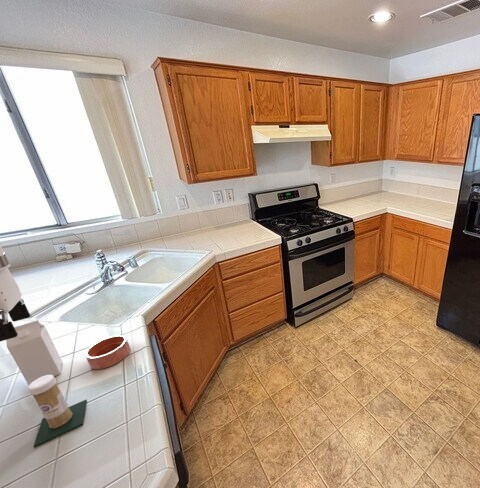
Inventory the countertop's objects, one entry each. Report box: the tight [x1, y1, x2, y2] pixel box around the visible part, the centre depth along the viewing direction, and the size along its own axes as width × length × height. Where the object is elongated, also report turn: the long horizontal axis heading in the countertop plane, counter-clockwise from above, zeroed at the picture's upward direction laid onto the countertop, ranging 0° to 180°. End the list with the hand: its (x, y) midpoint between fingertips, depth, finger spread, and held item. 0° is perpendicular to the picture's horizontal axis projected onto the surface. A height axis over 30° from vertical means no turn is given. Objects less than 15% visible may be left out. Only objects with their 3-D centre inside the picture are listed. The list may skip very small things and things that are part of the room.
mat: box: [33, 399, 88, 449], centre depth 69 cm, size 9×9×1 cm
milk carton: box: [5, 319, 63, 386], centre depth 82 cm, size 7×7×19 cm
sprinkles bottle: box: [27, 375, 73, 428], centre depth 66 cm, size 5×5×14 cm
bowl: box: [84, 334, 131, 370], centre depth 90 cm, size 11×11×5 cm
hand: (15, 328), depth 65 cm, fingers open, 9 cm apart
